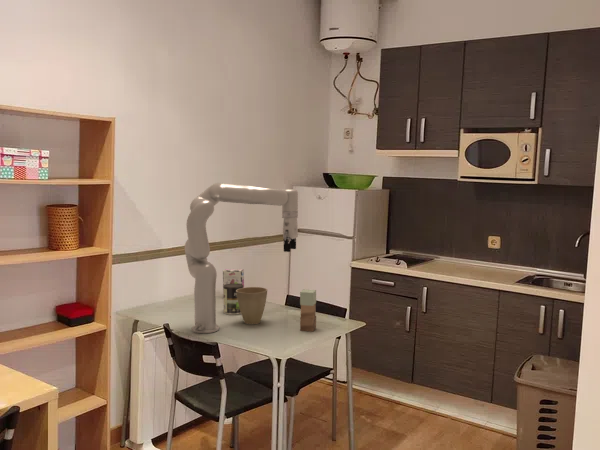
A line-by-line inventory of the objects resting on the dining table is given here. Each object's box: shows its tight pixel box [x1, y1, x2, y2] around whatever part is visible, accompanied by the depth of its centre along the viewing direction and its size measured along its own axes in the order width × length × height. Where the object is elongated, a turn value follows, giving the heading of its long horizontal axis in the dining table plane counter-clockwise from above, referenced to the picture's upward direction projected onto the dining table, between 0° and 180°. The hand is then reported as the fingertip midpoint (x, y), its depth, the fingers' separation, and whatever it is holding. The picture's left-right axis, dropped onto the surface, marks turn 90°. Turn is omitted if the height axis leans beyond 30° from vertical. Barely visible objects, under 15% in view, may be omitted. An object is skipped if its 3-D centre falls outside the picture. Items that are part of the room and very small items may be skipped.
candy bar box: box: [222, 268, 245, 300], centre depth 336 cm, size 11×5×16 cm, turn 81°
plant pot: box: [236, 286, 268, 325], centre depth 284 cm, size 15×15×16 cm
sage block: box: [299, 288, 317, 306], centre depth 272 cm, size 6×6×6 cm
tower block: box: [300, 302, 317, 319], centre depth 272 cm, size 6×6×6 cm
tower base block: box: [299, 315, 317, 333], centre depth 273 cm, size 6×6×6 cm
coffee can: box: [222, 284, 243, 316], centre depth 304 cm, size 10×10×14 cm
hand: (289, 250), depth 287 cm, fingers open, 9 cm apart
